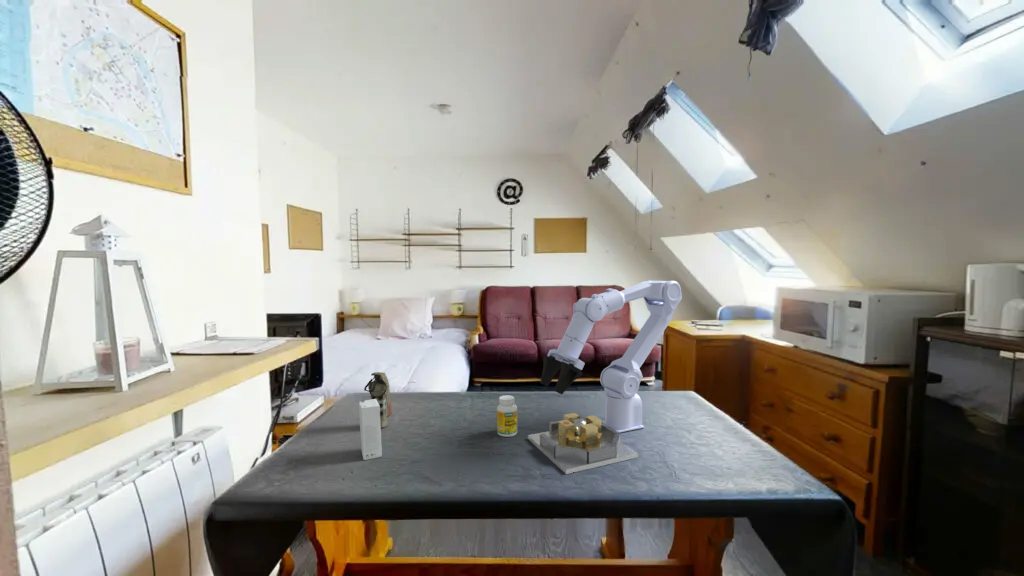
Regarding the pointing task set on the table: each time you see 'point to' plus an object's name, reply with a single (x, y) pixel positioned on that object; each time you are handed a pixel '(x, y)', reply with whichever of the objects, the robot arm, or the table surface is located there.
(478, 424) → the table surface
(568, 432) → the gold block ring
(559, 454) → the flange plate
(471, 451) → the table surface
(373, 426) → the skincare box
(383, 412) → the grenade model
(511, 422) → the supplement bottle
